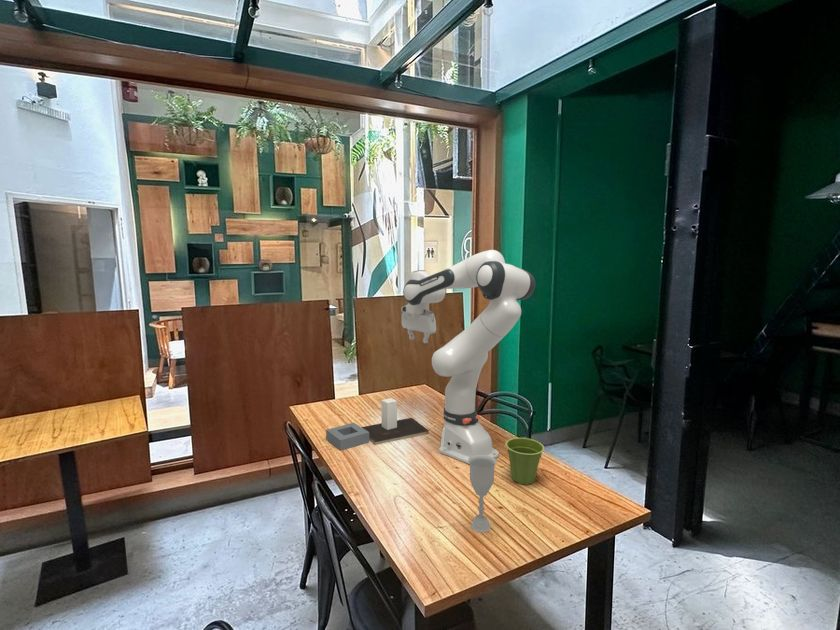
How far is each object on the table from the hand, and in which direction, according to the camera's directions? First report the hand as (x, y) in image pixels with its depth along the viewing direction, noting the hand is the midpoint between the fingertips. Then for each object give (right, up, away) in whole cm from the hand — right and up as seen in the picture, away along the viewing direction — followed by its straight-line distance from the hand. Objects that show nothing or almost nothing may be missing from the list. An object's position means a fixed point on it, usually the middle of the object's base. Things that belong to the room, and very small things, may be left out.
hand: (418, 341), depth 183 cm
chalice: (+17, -44, -71) cm, 85 cm away
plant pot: (+33, -41, -48) cm, 71 cm away
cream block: (-12, -34, -10) cm, 37 cm away
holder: (-27, -37, -19) cm, 50 cm away
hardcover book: (-10, -37, -11) cm, 40 cm away
